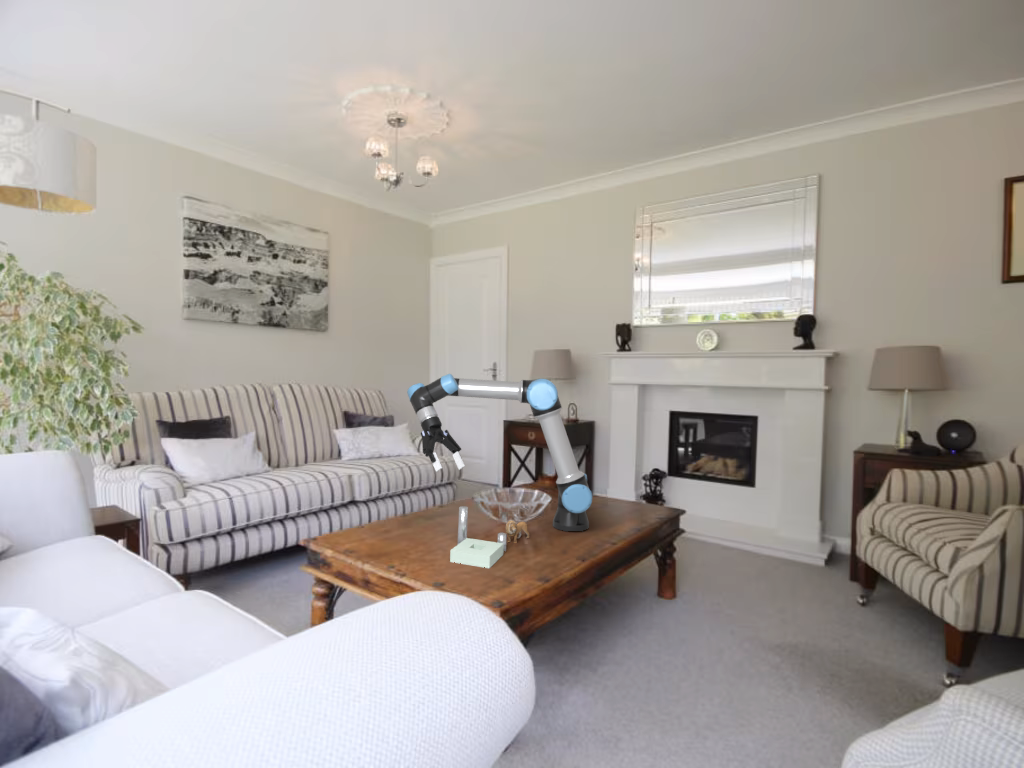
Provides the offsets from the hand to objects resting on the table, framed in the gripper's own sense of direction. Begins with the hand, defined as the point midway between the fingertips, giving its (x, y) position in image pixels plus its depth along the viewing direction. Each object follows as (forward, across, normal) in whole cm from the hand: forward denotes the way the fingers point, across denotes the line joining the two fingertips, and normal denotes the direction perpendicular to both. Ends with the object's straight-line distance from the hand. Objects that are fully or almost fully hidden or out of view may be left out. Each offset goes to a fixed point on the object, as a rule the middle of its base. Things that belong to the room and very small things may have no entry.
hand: (450, 469), depth 199 cm
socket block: (+34, +6, -1) cm, 34 cm away
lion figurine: (+33, -18, +1) cm, 38 cm away
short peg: (+34, -6, +2) cm, 35 cm away
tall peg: (+26, -1, -10) cm, 28 cm away
